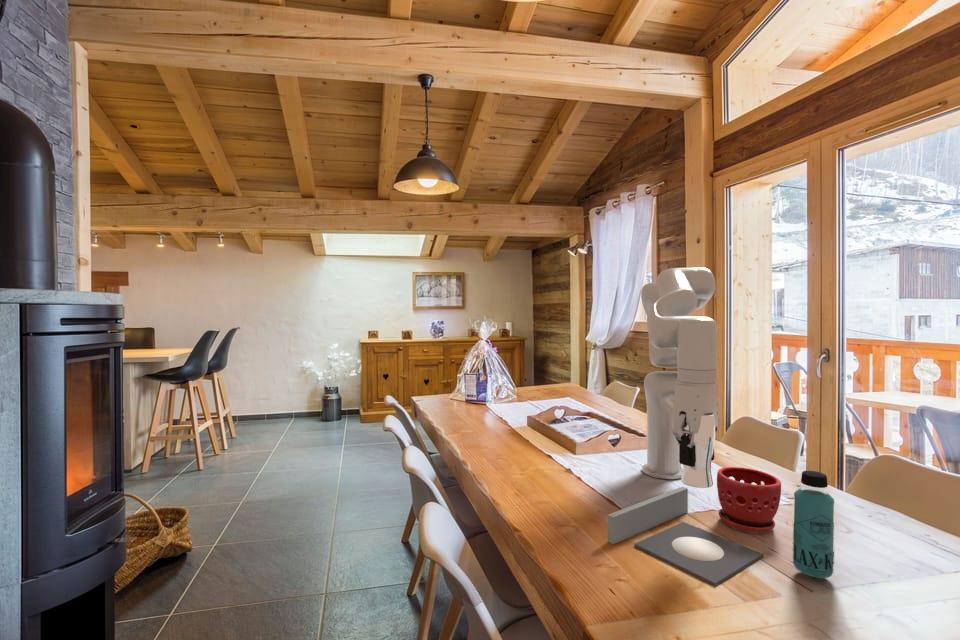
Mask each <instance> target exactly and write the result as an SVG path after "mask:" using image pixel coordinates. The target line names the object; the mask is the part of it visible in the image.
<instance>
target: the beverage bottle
mask: <svg viewBox="0 0 960 640" xmlns="http://www.w3.org/2000/svg"><path fill="white" fill-rule="evenodd" d="M800 482H801V484H802V485H805V486H803V487H800V488H798V489H797V490H795V491H794V493H793V494H794V502H793V503H794V509H793V524H792V527H793V531H792V539H793V540H792V544H793V545H792V562H793V565H794V568H795V569H796V570H797V571H798V572H801V573H802V574H805V575H807V576H810V577H814V578H817V579H827V578H830V577H832V576H833V573H834V570H835V561H834V557H835V551H834V540H835V537H834V536H835V535H834V533H835V531H834V530H835V523H834V520H835V519H834V515H835V513H834V512H835V511H834V508H835V506H834V505H835V499H834V497H833V496H832V495H831V494H829V493H828V491H825V490H824V489H825V488H828V485H829V484H828V477H827V474H825V473H823V472H821V471H815V470H803V471H802V472H801V479H800Z"/></svg>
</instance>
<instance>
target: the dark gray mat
mask: <svg viewBox="0 0 960 640" xmlns="http://www.w3.org/2000/svg"><path fill="white" fill-rule="evenodd" d="M634 547H635V548H637V549H639V550H641V551H643V552H645V553H647V554H649V555H651V556H653V557H655V558H657V559H659V560H661V561H662V562H665V563H667V564H670V565H671V566H674V567H675V568H677V569H679V570H682V571H684V572H686V573H688V574H689V575H691V576H693V577H696V578H697V579H700V580H701V581H703V582H705V583H708V584H709V585H712V586H713V587H717V586H718V585H720V584H721V583H724V582H725V581H727V580H728V579H730V578H731V577H733V576H735V575H736V574H738V573H740V572H741V571H742V570H744V569H746V568H748V567H749V566H750V565H752V564H754V563H755V562H758V561H759V560H761V559H762V558H764V553H763V552H760V551H757V550H755V549H753V548H750V547H747V546H745V545H742V544H740V543H737V542H735V541H733V540H730V539H729V538H728V539H727V538H725V537H722V536H720V535H717V534H715V533H712V532H710V531H708V530H705V529H702V528H699V527H698V526H695V525H692V524H690V523H687V522H685V521H682V522H679V523H678V524H675V525H673V526H671V527H668V528H667V529H664V530H662V531H660V532H658V533H655V534H653V535H650V536H649V537H646V538H644V539H642V540H640V541H637V542H635V543H634Z"/></svg>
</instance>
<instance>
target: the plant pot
mask: <svg viewBox="0 0 960 640" xmlns="http://www.w3.org/2000/svg"><path fill="white" fill-rule="evenodd" d="M731 477H732V478H733V479H732V478H731ZM742 481H743V482H742ZM762 482H763V484H762ZM753 483H754V484H753ZM716 489H717V497H718V501H719V505H720V507H721V508H720V509H719V511H718V517H719V519H720V520H721V521H722V522H723V523H724V524H726V525H727V526H728V527H729V528H731V529H732V528H733V529H734V530H738V531H741V532H745V533H750V534H765V533H769V532H771V531H772V530H774V528H775V527H776V522H775V520H774V518H775V516H776V514H777V513H778V510H779V505H780V502H781V496H782V482H781V480H780V479H779V478H778V477H776V476H774V475H772V474H770V473H767V472H764V471H762V470H757V469H752V468H747V467H739V466H728V467H727V466H725V467H722V468H719V469H718V470H717V473H716Z"/></svg>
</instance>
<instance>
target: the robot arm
mask: <svg viewBox="0 0 960 640" xmlns="http://www.w3.org/2000/svg"><path fill="white" fill-rule="evenodd" d="M656 277H657V278H656V279H655V281H653V282H649V283H646V284H644V285H643V286H642V288H641V290H640V297H641V298H640V299H641V304H642V307H643V310H644V312H645V315H646V329H647V333H648V356H649V360H650V361H649V362H650V363H651V364H652V366H654V367H658V368H676V371H674V370H673V371H672V370H671V371H669V370H663V371H662V370H657V371H651V372H649V373H648V374H646V376H645V377H644V379H643V388H644V396H645V402H646V423H647V424H646V429H647V430H646V433H647V434H646V438H647V439H646V441H647V443H646V446H647V447H646V452H647V453H646V454H647V455H646V457H647V463H644V464H643V465H642V467H641V468H642V469H641V470H642V472H643V473H644V474H645V475H647V476H650V477H653V478H657V479H661V480H679V479H681V477H682V472H683V465H687V466H690V467H694V466H695V447H693V443H694V434H696V433H698V432H699V427H700V423H701V417H702V415H711V414H712V413H714V419H715V440H716V439H717V437H716V433H717V432H718V427H719V425H720V423H721V420H720V418H719V399H718V398H719V397H718V391H717V386H718V383H717V382H718V335H719V334H718V333H719V331H718V326H717V323H716V321H715V319H713V318H711V317H709V316H704V315H697V316H696V315H692V314H693V313H694V312H695V311H696V310H700V309H702V308H704V307H705V306H706V305H707V304H708V302H709V301H711V299H712V297H713V296H714V293H715V290H716V279H715V276H714V274H713V272H712V271H711V270H710V269H709V268H707V267H703V266H701V267H700V266H698V267H694V266H693V267H673V268H668V269H667V268H666V269H664V270H662V271H661V272H660V273H659V274H658V275H657V276H656ZM671 404H673V405H671ZM686 422H687V425H688V427H690V430H689V431H686V430H683V428H684V426H685V424H686ZM684 433H685V434H689V435H690V436H689V440H688V438H687V437H686V436H685V435H684ZM714 460H715V449H714V450H713V455H712V460H711V461H714Z"/></svg>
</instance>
